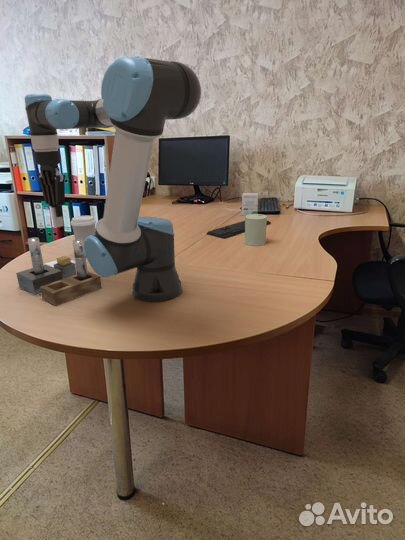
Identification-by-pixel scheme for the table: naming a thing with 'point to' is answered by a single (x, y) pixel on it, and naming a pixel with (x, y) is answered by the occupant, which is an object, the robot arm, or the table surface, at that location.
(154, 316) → the table surface
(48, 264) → the external hard drive
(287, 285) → the table surface
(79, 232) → the coffee cup
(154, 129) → the robot arm
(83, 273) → the test tube
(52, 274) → the block
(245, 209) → the ink box
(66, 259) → the yellow piece
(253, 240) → the can
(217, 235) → the dark grey ribbed block
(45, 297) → the rack
